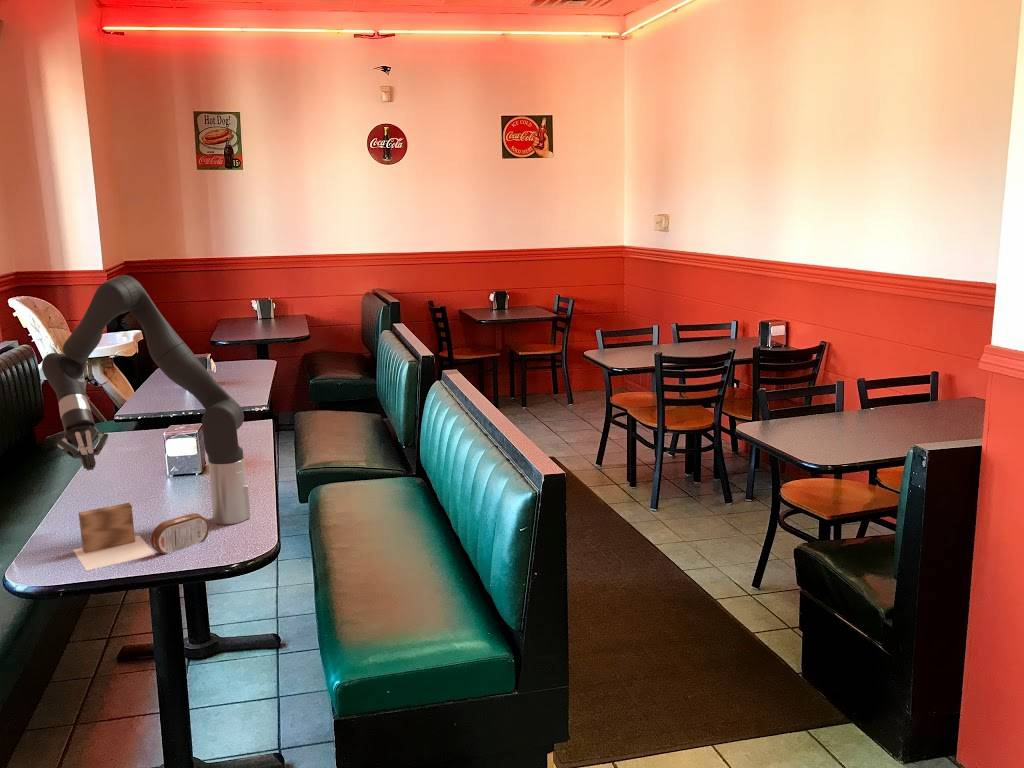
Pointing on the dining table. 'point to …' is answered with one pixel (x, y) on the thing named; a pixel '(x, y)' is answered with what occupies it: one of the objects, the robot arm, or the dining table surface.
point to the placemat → (114, 554)
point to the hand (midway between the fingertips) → (90, 468)
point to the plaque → (106, 527)
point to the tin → (179, 533)
